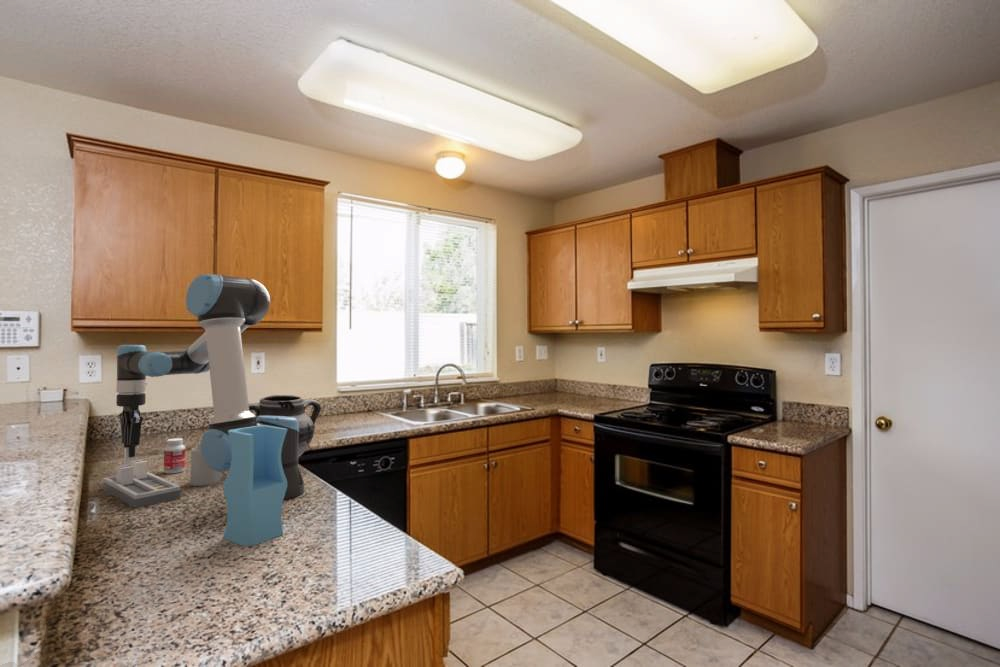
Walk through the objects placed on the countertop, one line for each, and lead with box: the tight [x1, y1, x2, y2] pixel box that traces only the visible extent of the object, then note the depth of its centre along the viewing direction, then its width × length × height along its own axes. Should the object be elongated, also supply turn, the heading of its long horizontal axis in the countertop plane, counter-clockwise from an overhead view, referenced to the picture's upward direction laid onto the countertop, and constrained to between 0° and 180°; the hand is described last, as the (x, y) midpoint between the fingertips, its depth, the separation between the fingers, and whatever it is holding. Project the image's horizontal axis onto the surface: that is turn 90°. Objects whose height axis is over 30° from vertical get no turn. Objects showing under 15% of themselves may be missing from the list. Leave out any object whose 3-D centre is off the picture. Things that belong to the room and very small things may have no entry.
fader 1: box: [115, 464, 133, 486], centre depth 151 cm, size 4×3×5 cm
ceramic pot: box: [248, 394, 322, 458], centre depth 184 cm, size 29×23×25 cm
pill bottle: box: [163, 437, 186, 475], centre depth 174 cm, size 6×6×11 cm
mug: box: [189, 446, 222, 487], centre depth 164 cm, size 12×8×11 cm
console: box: [102, 471, 181, 509], centre depth 150 cm, size 27×11×3 cm, turn 53°
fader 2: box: [131, 459, 149, 479], centre depth 157 cm, size 4×3×5 cm
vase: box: [222, 425, 287, 547], centre depth 120 cm, size 10×10×25 cm
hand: (130, 466), depth 162 cm, fingers closed
